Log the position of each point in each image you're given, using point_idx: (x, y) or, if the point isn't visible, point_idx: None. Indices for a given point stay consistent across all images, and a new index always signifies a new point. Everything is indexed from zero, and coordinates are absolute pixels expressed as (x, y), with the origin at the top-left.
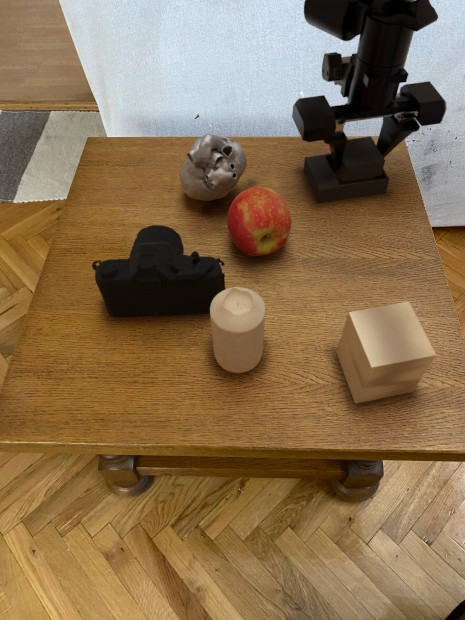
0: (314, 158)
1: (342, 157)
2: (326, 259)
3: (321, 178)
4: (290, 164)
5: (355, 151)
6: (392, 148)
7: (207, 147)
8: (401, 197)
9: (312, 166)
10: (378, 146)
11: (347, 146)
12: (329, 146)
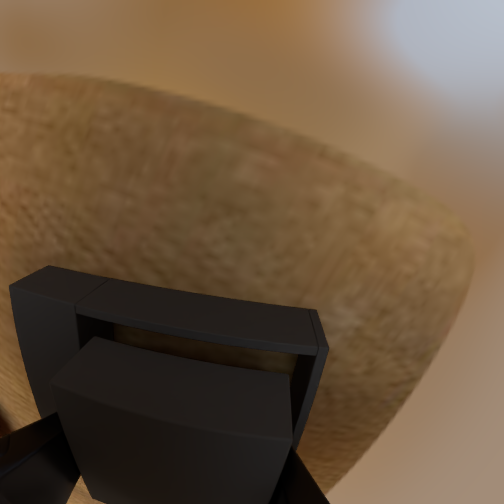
0: (35, 309)
1: (69, 494)
2: (82, 490)
3: (52, 407)
4: (24, 212)
5: (145, 481)
6: None
7: None
8: (312, 467)
9: (27, 346)
10: (276, 501)
11: (114, 445)
12: (16, 432)
